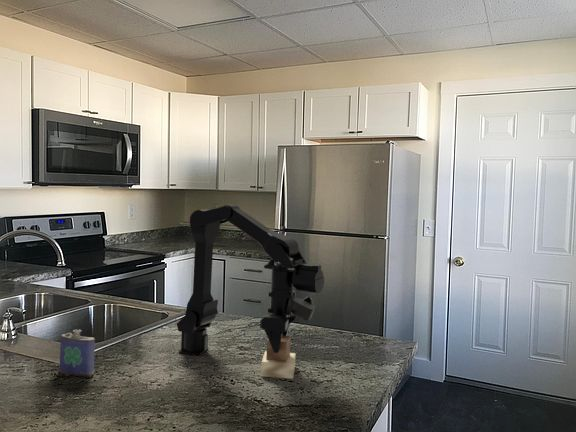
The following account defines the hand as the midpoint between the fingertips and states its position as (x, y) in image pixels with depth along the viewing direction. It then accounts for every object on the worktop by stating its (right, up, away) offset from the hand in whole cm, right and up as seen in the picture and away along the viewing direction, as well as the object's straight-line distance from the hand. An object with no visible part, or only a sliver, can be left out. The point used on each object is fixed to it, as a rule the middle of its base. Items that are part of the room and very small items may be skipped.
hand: (279, 348), depth 124 cm
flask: (-49, -4, -7) cm, 49 cm away
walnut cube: (0, -2, 0) cm, 2 cm away
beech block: (0, -6, 0) cm, 6 cm away
